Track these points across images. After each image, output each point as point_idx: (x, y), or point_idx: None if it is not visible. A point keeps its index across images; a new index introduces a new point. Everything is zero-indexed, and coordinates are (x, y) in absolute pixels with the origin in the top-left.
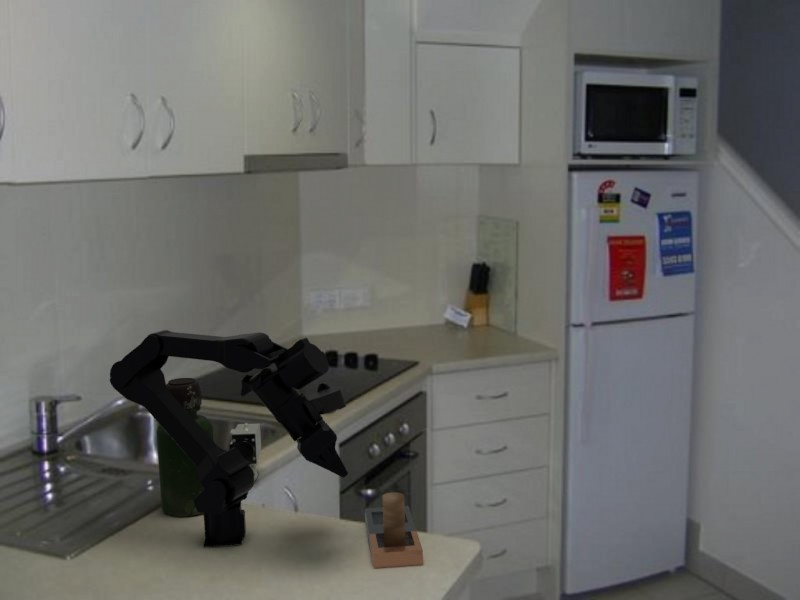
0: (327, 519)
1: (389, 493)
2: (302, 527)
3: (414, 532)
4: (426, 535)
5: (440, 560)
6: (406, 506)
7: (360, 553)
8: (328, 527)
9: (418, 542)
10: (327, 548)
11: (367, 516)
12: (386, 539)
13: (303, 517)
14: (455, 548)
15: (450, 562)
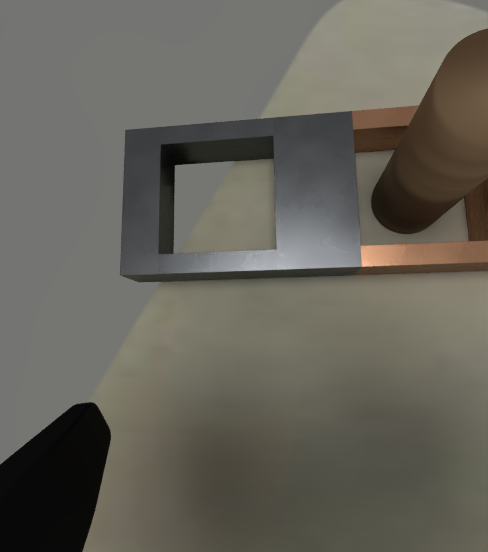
0: None
1: (457, 102)
2: (145, 496)
3: (364, 118)
4: (275, 108)
5: None
6: (130, 136)
7: (390, 306)
8: (162, 404)
9: None
10: (338, 414)
11: (195, 268)
12: (451, 207)
13: None
14: (381, 35)
15: None
